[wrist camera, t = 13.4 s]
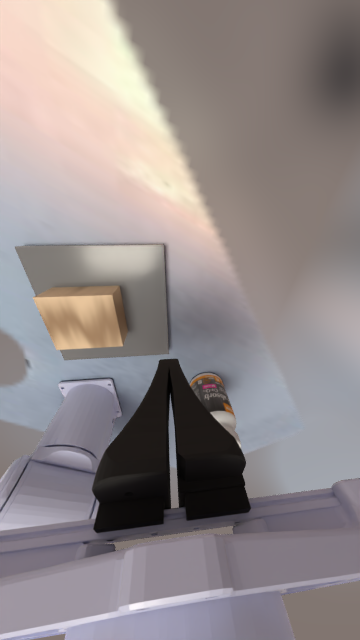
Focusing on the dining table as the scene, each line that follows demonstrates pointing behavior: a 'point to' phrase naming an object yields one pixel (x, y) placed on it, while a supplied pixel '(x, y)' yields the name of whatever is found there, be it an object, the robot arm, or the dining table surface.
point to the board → (109, 270)
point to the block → (83, 316)
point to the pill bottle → (215, 400)
